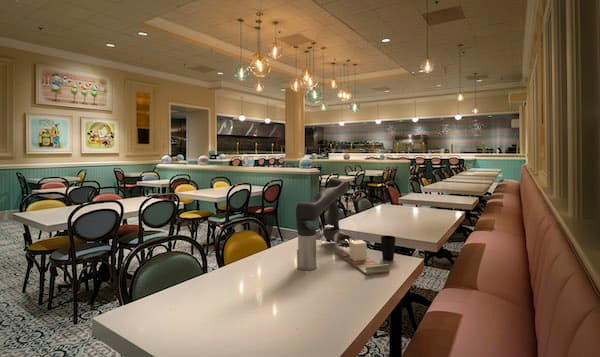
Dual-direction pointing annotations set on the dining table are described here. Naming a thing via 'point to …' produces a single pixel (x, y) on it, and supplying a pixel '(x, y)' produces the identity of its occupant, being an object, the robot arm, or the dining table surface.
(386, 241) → the cup
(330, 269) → the dining table surface
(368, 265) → the track
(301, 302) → the dining table surface
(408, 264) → the dining table surface
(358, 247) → the block
